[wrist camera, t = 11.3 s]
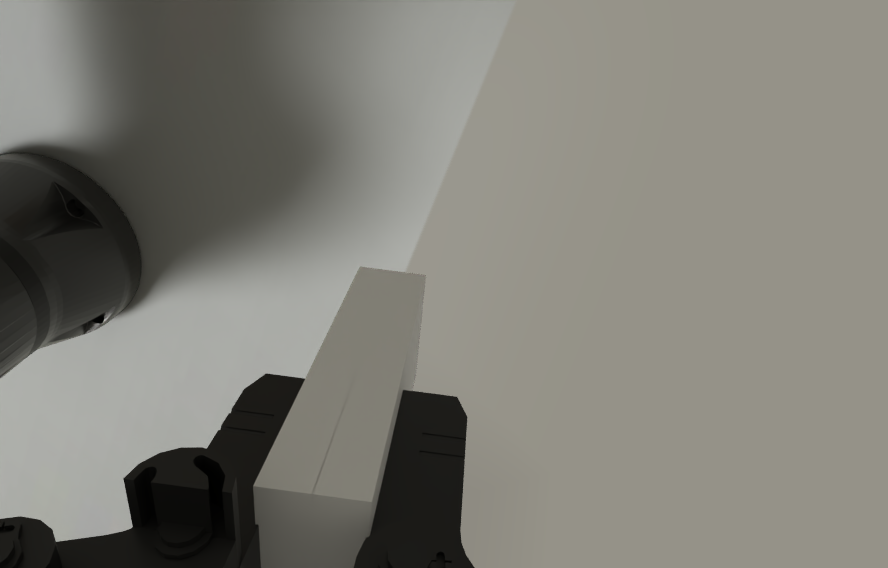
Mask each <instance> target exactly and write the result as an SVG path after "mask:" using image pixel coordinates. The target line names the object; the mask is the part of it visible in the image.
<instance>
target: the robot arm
mask: <svg viewBox="0 0 888 568" xmlns="http://www.w3.org/2000/svg"><path fill="white" fill-rule="evenodd" d="M140 275H141V259H140V252H139V248H138V244H137V241H136V238H135V235H134V233H133V230H132V228H131V226H130V224H129V223H128V221H127V219H126V217H125V216H124V214H123V213H122V211H121V210H120V209H119V207H118V206H117V205H116V203H115V202H114V201H113V200H112V199H111V198H110V197H109V195H108V194H107V193H106V192H105V191H104V190H103V189H101V188H100V187H99V186H98V185H97V184H96V183H95V182H93V181H92V180H91V179H89V178H88V177H87V176H85V175H84V174H82V173H81V172H79V171H77V170H75V169H74V168H72V167H70V166H68V165H66V164H64V163H61V162H59V161H56V160H54V159H51V158H47V157H44V156H40V155H34V154H27V153H10V154H3V155H0V378H2V377H3V376H4V375H5V374H7V373H8V372H9V371H10V370H12V369H13V368H14V367H15V366H17V365H18V364H19V363H20V362H22V361H23V360H24V359H25V358H27V357H28V356H29V355H30V354H32V353H33V352H34V351H36V350H37V349H40V348H43V347H46V346H49V345H52V344H55V343H58V342H61V341H65V340H68V339H71V338H74V337H77V336H80V335H83V334H86V333H89V332H92V331H94V330H96V329H98V328H100V327H101V326H103V325H105V324H106V323H108V322H109V321H110V320H111V319H112V318H114V317H115V316H116V315H117V314H118V313H120V312H121V311H122V310H123V309H124V308H125V307H126V306H127V305H128V304H129V303H130V301H131V300H132V298H133V297H134V295H135V293H136V291H137V288H138V285H139V281H140ZM425 279H426V275H420V274H413V273H405V272H397V271H389V270H382V269H374V268H366V267H360V268H359V270H358V272H357V274H356V276H355V278H354V280H353V282H352V284H351V286H350V288H349V290H348V292H347V294H346V296H345V298H344V301H343V303H342V305H341V307H340V309H339V311H338V313H337V315H336V317H335V319H334V321H333V323H332V325H331V327H330V329H329V331H328V333H327V335H326V337H325V340H324V342H323V344H322V346H321V348H320V350H319V352H318V354H317V356H316V358H315V360H314V362H313V364H312V366H311V368H310V370H309V372H308V374H307V376H306V378H305V379H303V378H295V377H288V376H280V375H273V374H265V375H264V376H262V377H261V378H259V379H258V380H257V381H255V382H254V383H252V384H251V385H250V386H248V387H247V388H245V389H244V390H243V392H242V394H241V395H240V397H239V398H238V400H237V402H236V403H235V405H234V406H233V408H232V411H231V413H229V414H228V416H227V418H226V419H225V421H224V422H223V424H222V425H221V430H218V432H217V433H216V435H215V437H214V438H213V440H212V441H211V443H210V445H209V446H208V448H207V449H205V448H178V449H174V450H170V451H166V452H162V453H159V454H157V455H155V456H153V457H151V458H149V459H147V460H146V461H144V462H142V463H140V464H138V465H137V466H136V467H135V468H134V469H133V470H132V471H131V472H130V473H129V474H128V475H127V476H126V477H125V478H124V483H125V488H126V493H127V499H128V504H129V509H130V514H131V520H132V525H133V527H132V528H131V529H129V530H126V531H123V532H118V533H114V534H109V535H104V536H96V537H89V538H82V539H75V540H68V541H60V542H56V541H55V538H54V534H53V530H52V529H51V528H50V527H48V526H47V525H46V524H44V523H43V522H42V521H41V520H37V519H32V518H26V517H13V518H5V519H0V568H474V567H473V565H472V563H471V562H470V561H469V559H468V558H467V556H466V554H465V551H464V549H463V546H462V543H461V533H460V526H461V510H462V493H463V477H464V459H465V444H466V443H465V441H466V428H467V416H466V413H465V412H464V410H463V408H462V406H461V404H460V402H459V400H458V398H457V397H453V396H446V395H439V394H431V393H423V392H415V391H413V386H414V381H415V376H416V367H417V358H418V348H419V339H420V329H421V328H420V327H421V319H422V308H423V299H424V289H425Z"/></svg>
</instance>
